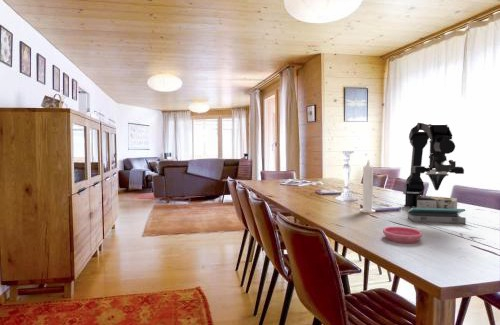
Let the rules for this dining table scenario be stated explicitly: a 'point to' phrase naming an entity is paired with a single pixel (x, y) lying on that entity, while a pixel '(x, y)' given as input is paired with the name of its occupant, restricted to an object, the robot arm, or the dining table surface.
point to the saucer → (402, 234)
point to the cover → (436, 210)
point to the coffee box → (436, 202)
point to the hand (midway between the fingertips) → (436, 190)
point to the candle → (367, 189)
